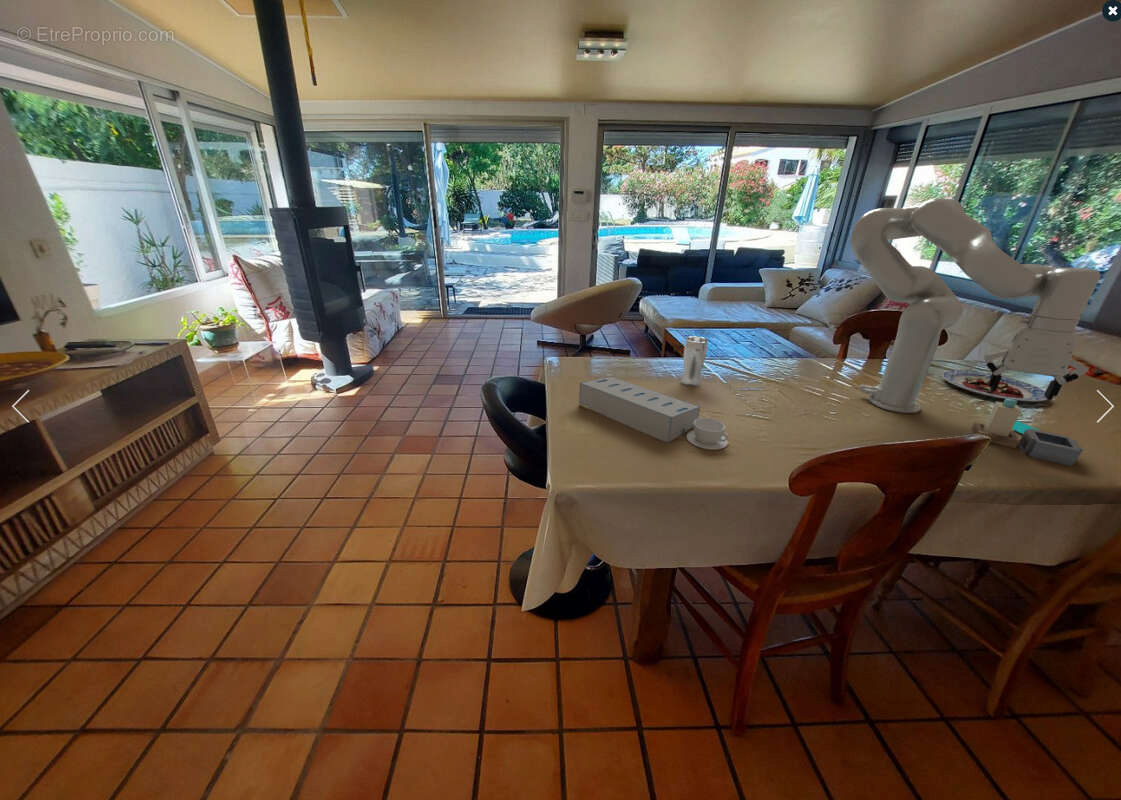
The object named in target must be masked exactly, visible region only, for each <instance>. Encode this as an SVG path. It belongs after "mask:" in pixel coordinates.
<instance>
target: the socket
mask: <svg viewBox="0 0 1121 800" xmlns="http://www.w3.org/2000/svg"><path fill="white" fill-rule="evenodd" d="M1018 445H1019V448H1020V449H1021V452H1022V453H1023V454H1026V453H1027V456H1028V457H1029V456H1030V457H1029V458H1034V459H1038V458H1039V459H1038V460H1043V461H1047V462H1052V463H1055V464H1059V465H1064V466H1069V467H1072V466H1073V465H1075V464H1076V462H1077V461H1078V459H1079V457H1080V455H1081V454H1082V453H1083V451H1084V449H1083V447H1082V446H1081V444H1079V442H1078V441H1077V440H1076V439H1072V438H1071V437H1070V436H1069V435H1068V436H1067V435H1064V434H1059V433H1053V432H1049V431H1044V430H1041V431H1040V429H1039V430H1035V429H1030V428H1028V430H1025V432H1024V434H1023V436H1022V435H1021V437H1020V439H1019V443H1018Z"/></svg>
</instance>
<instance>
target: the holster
mask: <svg viewBox="0 0 1121 800" xmlns="http://www.w3.org/2000/svg"><path fill="white" fill-rule="evenodd" d="M985 423H986V422H980V421H975V420H974V422H973V423H972V425H971V431H972V433H973V435H974V434H981V435H985V436H988V437H990V438H991V441H992V442H994V443H992V442H990V443H992V444H996V445H1001V446H1005V447H1010V448H1013V449H1014V448H1015V449H1016V448H1017V446H1018V445H1019V444H1018V443H1019V441H1020V439H1019V438H1018V435H1017V433H1015V432H1014V430H1013V429H1012V430H1011V432H1010V434H1009V435H1008V437H1005V436H1001V435H996V434H992V433H987V432H983V430H982V429H983V427H984V425H985Z"/></svg>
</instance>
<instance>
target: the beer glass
mask: <svg viewBox="0 0 1121 800" xmlns="http://www.w3.org/2000/svg"><path fill="white" fill-rule="evenodd" d="M685 340H686V341H685V344H684V348H683V349H684V350H683V375H682V376H681V377H682V378H681V380H680V382H681V384H683V385H685V386H687V387H688V386H689V387H698V386H700V385H701V373H702V369H703V366H704V363H705V360H706V357H707V351H708V342H709V340H708V339H707V338H705V337H702V336H688V337H687V338H686V339H685Z"/></svg>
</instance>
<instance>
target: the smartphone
mask: <svg viewBox="0 0 1121 800" xmlns="http://www.w3.org/2000/svg"><path fill="white" fill-rule="evenodd" d="M1028 428H1030V429H1035V430H1040V429H1038V428H1036V427H1033V426H1031V425H1029V424H1026V423H1024V422H1021V421H1019V420H1018V419H1017V420H1016V422H1015V424H1014V426H1013V428H1012V429H1013V430H1014V432H1015V434H1016V435H1017V434H1018V435H1020V436H1021V437H1022V436H1023V434H1024V432H1025V430H1028ZM1040 431H1042V430H1040Z"/></svg>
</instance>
